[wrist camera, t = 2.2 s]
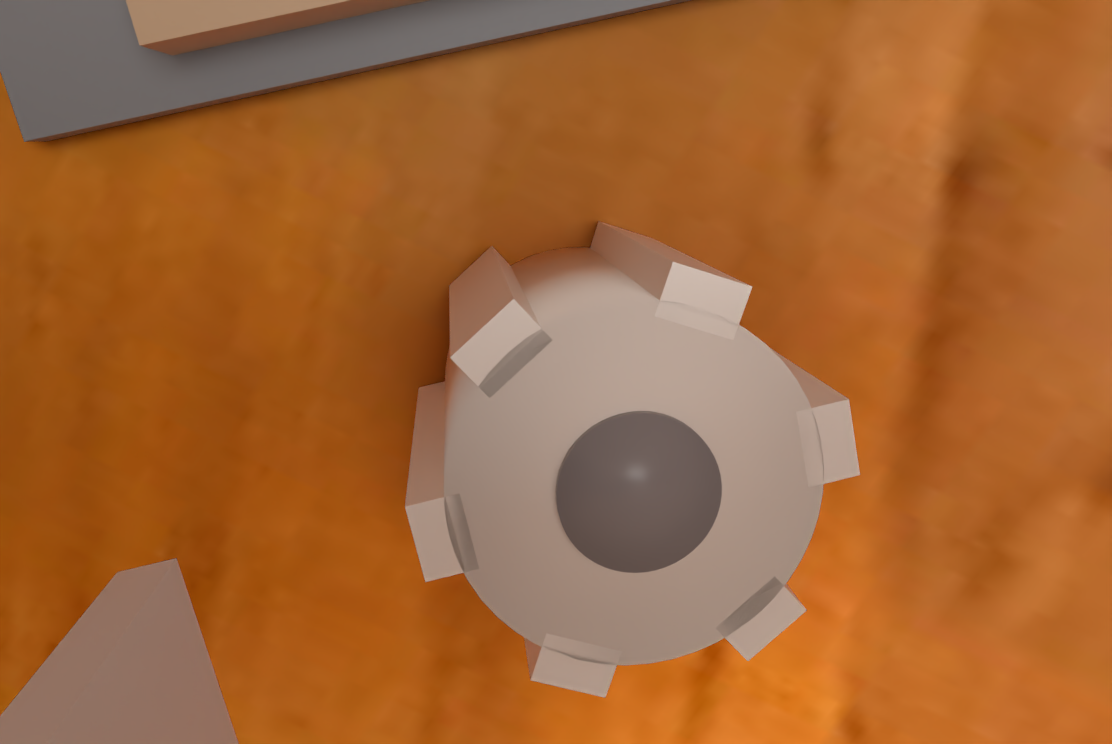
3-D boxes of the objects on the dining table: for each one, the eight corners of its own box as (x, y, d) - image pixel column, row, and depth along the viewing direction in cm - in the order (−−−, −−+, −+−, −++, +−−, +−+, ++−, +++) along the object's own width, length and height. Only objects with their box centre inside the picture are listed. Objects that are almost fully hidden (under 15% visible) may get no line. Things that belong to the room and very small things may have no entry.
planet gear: (460, 548, 22) (467, 741, 15) (387, 269, 20) (356, 338, 13) (749, 477, 22) (888, 632, 15) (700, 197, 21) (829, 227, 14)
